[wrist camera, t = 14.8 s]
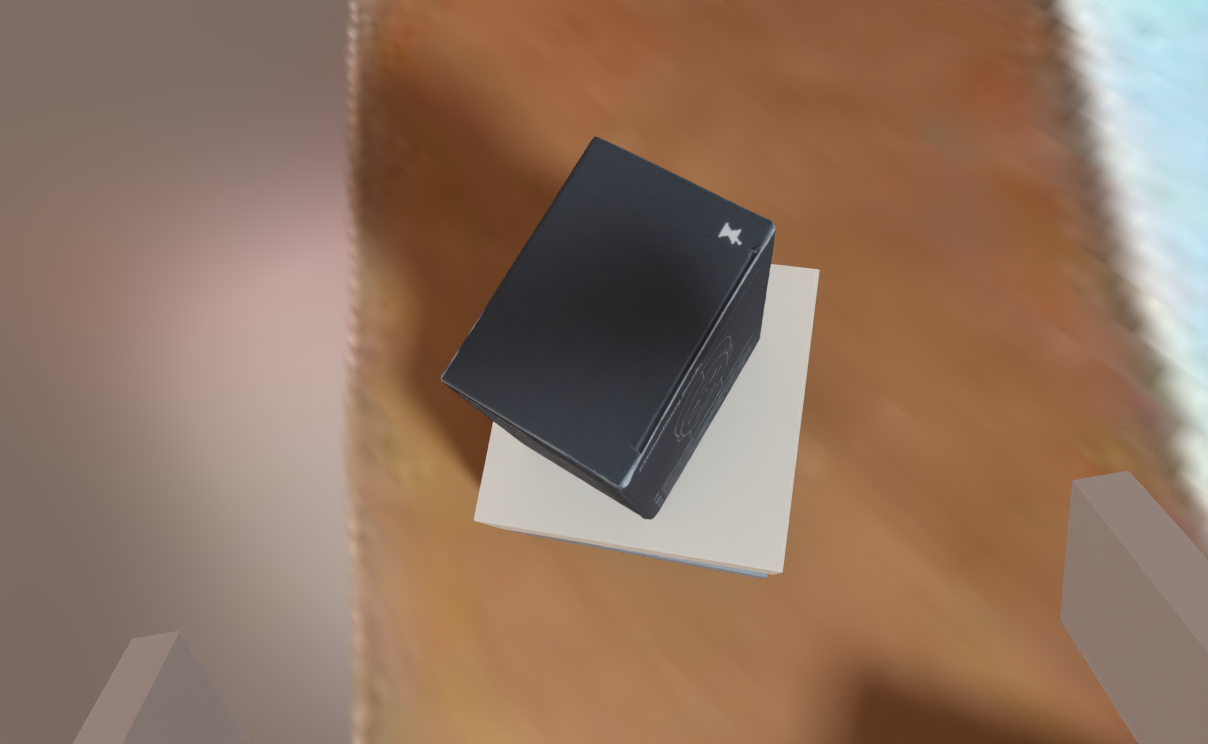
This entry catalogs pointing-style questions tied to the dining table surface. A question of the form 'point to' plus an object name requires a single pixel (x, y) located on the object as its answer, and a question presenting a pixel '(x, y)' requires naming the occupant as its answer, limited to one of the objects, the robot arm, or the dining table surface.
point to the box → (621, 325)
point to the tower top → (711, 477)
